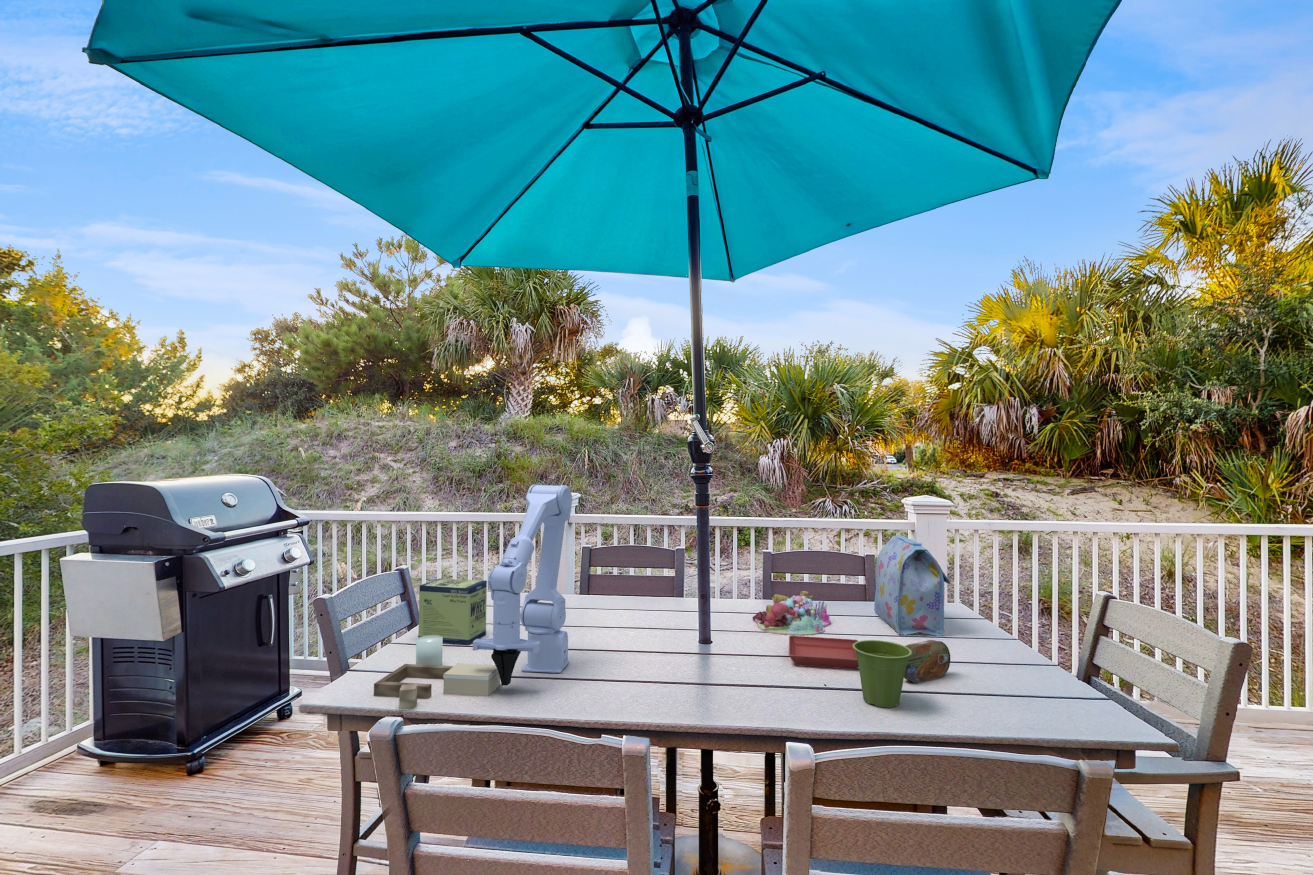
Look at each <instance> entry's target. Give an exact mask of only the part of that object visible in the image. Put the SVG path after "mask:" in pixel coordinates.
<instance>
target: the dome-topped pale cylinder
mask: <svg viewBox="0 0 1313 875" xmlns="http://www.w3.org/2000/svg"><path fill="white" fill-rule="evenodd" d="M415 643H416V644H415V648H416V649H415V664H418V665H438V666H443V644H444V643H443V637H442V636H439V635H427V636H422V637H419V638H418V637H417V638H416V639H415Z"/></svg>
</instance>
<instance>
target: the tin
mask: <svg viewBox="0 0 1313 875" xmlns="http://www.w3.org/2000/svg"><path fill="white" fill-rule="evenodd" d="M905 646H906V647H908V648H909V649H910V650H911V651H912V654H911V656H909V659H908V664H907V666H906V669H905V675H904V679H905V680H907V681H909V682H912V683H915V684H920V683H924V682H928V681H932V680H936V679H940V678H942V677H944V676H945V675H946V674H947V673H948V672H949V668H950V666H951V652H950V648H949V647H948V646H947V644H946V643H945V642H943V641H940V640H939V641H938V640H934V639H929V640H924V641H918V642H915V643H910V644H907V645H905Z"/></svg>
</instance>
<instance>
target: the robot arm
mask: <svg viewBox="0 0 1313 875" xmlns="http://www.w3.org/2000/svg"><path fill="white" fill-rule="evenodd" d="M525 503H526V507H527V510H526V511H525V512H526V513H525V515H524V518H523V521H522V524H521V526H520V529H519V533H518V535H517V536H515V537H512V538H511V539H510V541H509V544H508V545H507V547H506V550H505V552H504V554H503V556H502V558H501V561H500V563H499V565H496V566H495V567H494V568H492V569H491V571H490V573H489V576H488V580H487V586H488V589H489V591H490V598H491V600H492V601H493V607H492V608H493V610H492V611H493V613H492V614H493V620H492V622H493V623H492V624H493V625H492V638H480V639H476V640H474V641H473V643H472V650H473V651H478V650H484V651H487V650H488V651H492V654H491V655H490V656H491V657H490V658H491V660H492V661H493V663H494V665H496V667H497V670H498V672H499V676H500V685H501V686H505V687H507V686H508V685H510V684H511V681H512V676H513V673H514V672H513V671H514V669H515V665H516V663H517V661H518V658H519V657H520V654H521V652H527V663H526V665H524V666H523V667H522V669H521V671H522V672H533V673H551V674H552V673H553V674H554V673H555V674H560V673H562V672H563V671H564V670H565V668H566V666H568V665H569V663H570V661H569V637H568V636H569V634H568V631H566V630H561V629H562V628H563V626H564V625H565V622H566V618H567V610H566V599H565V597H564V596H563V595H562V594H561V593H560V591H558V589H557V588H558V579H559V572H560V564H561V556H562V551H563V550H562V548H563V542H564V541H563V540H564V536H565V535H564V534H565V527H566V522H567V521H569V520H570V518H571V512H572V506H573V505H572V504H573V495H572V491H571V489H570V487H569V486H568V485H566V484H563V485H549V484H547V485H546V484H536V483H535V484H532V485H530V486H529V488H528V490H527V491H526V497H525ZM542 525H543V532H542V539H541V545H540V546H541V547H540V554H539V561H538V566H537V572H536V573H537V575H536V580H535V588H534V589H532V590H531V591H530V592H528V593H527V594H526V595H525V597H524V600H523V601H524V602H523V603H522V607H521V592H522V591H523V590H524V588H525V587H526V583H527V574H528V569H527V568H528V564H529V562H530V560H531V559H532V555H533V553H534V551H535V545H534V543H533V541H534V539H535V537H536V535H537V533H538V531H539V530H540V528H541V526H542ZM539 601H547V602H539ZM521 625H522V626H523V627H524V629H525V631H526V632H527V639H524V638H521Z"/></svg>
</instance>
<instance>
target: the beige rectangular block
mask: <svg viewBox="0 0 1313 875" xmlns="http://www.w3.org/2000/svg"><path fill="white" fill-rule="evenodd" d="M443 678H444V679H443V691H442V692H443V695H452V696H453V695H455V696H457V695H458V696H471V697H472V696H473V697H489V696H490V695H491V694H492V693H493V692H494V691H495V690H496V689H497V688H499V686H500V685H501V680H500V676H499V672H498V670H497V667H496V665H495V664H494V665H493V664H479V663H478V664H477V663H473V664H472V663H457V664H455V665H454V667H452V668H451V669H450V670H448V671H447V672H446V673H444V675H443Z"/></svg>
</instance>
